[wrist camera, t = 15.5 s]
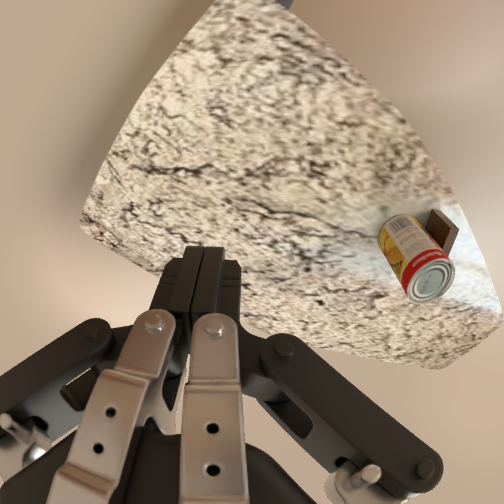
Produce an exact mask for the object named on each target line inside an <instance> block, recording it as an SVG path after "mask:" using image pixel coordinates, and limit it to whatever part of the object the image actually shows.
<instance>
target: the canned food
mask: <svg viewBox="0 0 504 504" xmlns="http://www.w3.org/2000/svg"><path fill="white" fill-rule="evenodd" d="M378 243H379V247H380V248H381V250H382V252H383V254H384V255H385V257H386V259H387V260H388V262H389V264H390V265H391V267H392V269H393V271H394V273H395V274H396V276H397V278H398V280H399V281H400V283H401V285H402V287H403V289H404V291H405V293H406V294H407V296H408V298H409V300H410V301H411V302H412V303H414V304H418V305H422V304H428V303H431V302H433V301H435V300H437V299H438V298H439V297H441V296H442V295H443V294H444V293H445V292H446V291H447V290H448V289H449V287H450V286H451V284H452V282H453V280H454V277H455V267H454V264H453V263H452V262H451V260H450V259H449V258H448V257H447V255H446V254H445V253H444V251H443V250H442V249H441V248H440V247H439V245H438V244H437V243H436V242H435V240H434V239H433V238H432V237H431V236H430V235H429V233H428V232H427V231H426V230H425V229H424V228H423V226H422V225H421V224H420V223H419V222H418V221H417V220H416V219H415V218H414V217H413V216H411V215H408V214H401V215H397V216H395V217H392V218H391V219H390V220H388V221H387V222H386V223H385V224H384V226H383V227H382V229H381V231H380V234H379V239H378Z"/></svg>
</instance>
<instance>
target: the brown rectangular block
mask: <svg viewBox="0 0 504 504" xmlns="http://www.w3.org/2000/svg"><path fill="white" fill-rule="evenodd" d="M425 230H426V231H427V232H428V233H429V235H430V236H431V237H432V238H433V239H434V240H435V242H436V243H437V244H438V245H439V247H440V248H441V249H442V250H443V251H444V253H445V254H446V255H447V257H448V255H449V253H450V251H451V248H452V246H453V244H454V241H455V239H456V236H457V234H458V231H459V229H458V228H457V227H456V225H455V224H454V223H453V222H452V221H451V220H450V219H449V218H448V217H447V216H446V215H444V214H443V213H442V212H441V211H439V210H433V209H432V211H431V214H430V217H429V220H428V223H427V226H426V229H425Z"/></svg>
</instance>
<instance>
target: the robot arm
mask: <svg viewBox="0 0 504 504" xmlns="http://www.w3.org/2000/svg"><path fill="white" fill-rule="evenodd" d="M240 300H241V267H240V265H239V264H238V262H237V260H225V249H224V247H207V246H206V248H205V246H186V249H185V252H184V255H183V257H182V258H173V259H172V260H170V261H169V262H168V263H167V264H166V265H165V268H164V270H163V273H162V276H161V278H160V281H159V284H158V286H157V289H156V291H155V294H154V297H153V300H152V302H151V305H150V308H149V310H148V311H146V312H144V313H142V314H141V315H139V316H138V317H137V319H136V321H135V322H134V324H133V325H130V326H125V327H118V328H111V327H110V325H109V323H108V322H107V321H105V320H103V319H100V318H92V319H88V320H86V321H84V322H82V323H81V324H79V325H78V326H76V327H75V328H73V329H71V330H70V331H68V332H67V333H65V334H64V335H62V336H60V337H59V338H57V339H56V340H54V341H53V342H51V343H50V344H48V345H46V346H45V347H44V348H42V349H40V350H39V351H37V352H36V353H34V354H33V355H31V356H30V357H28V358H27V359H25V360H24V361H22V362H21V363H19V364H18V365H16V366H15V367H13V368H12V369H10V370H9V371H7V372H6V373H4V374H3V375H1V376H0V475H1V477H2V479H3V481H4V484H3V485H2V487H1V488H0V504H317V503H316V502H315V501H314V500H313V499H312V498H311V497H310V496H309V495H308V494H307V493H306V492H305V491H304V490H303V489H302V488H301V487H300V486H299V485H298V484H297V483H296V482H295V481H294V480H293V479H292V478H291V477H290V476H289V475H288V474H287V472H286V471H285V470H284V469H283V468H282V467H281V466H280V465H279V464H278V463H277V462H276V461H275V460H274V459H273V458H272V457H270V456H269V455H268V454H267V453H265V452H264V451H262V450H261V449H258V448H257V447H255V446H252V445H250V444H247V443H245V437H244V436H245V434H244V419H243V403H242V394H245V395H248V396H251V397H254V398H256V399H257V401H258V403H259V404H260V405H261V406H262V407H263V408H264V409H265V410H266V411H267V412H268V413H269V414H270V416H271V417H272V418H273V419H274V420H275V421H276V422H277V423H278V424H279V425H280V426H281V427H282V428H283V429H284V430H285V431H286V432H287V433H288V434H289V435H290V436H291V437H292V438H293V439H294V440H295V441H296V442H297V443H298V444H299V445H300V446H301V447H302V448H303V449H304V450H305V451H306V452H307V453H309V454H310V455H311V456H312V457H313V458H314V459H315V460H316V461H317V462H318V463H319V464H320V465H321V466H322V467H323V468H325V469H326V470H327V471H328V472H329V473H330V475H329V476H328V478H327V479H326V482H325V493H326V495H327V497H328V498H329V499H330V501H331V502H332V503H333V504H405V503H406V502H407V500H409V499H410V498H411V497H414V496H417V495H420V494H423V493H426V492H428V491H430V490H432V489H433V488H434V487H435V486H436V485H437V484H438V483H439V481H440V480H441V477H442V474H443V462H442V459H441V457H440V456H439V454H437V452H435V451H434V450H433V449H432V448H430V447H429V446H428V445H427V444H425V443H424V442H423V441H421V440H420V439H419V438H418V437H416V436H415V435H414V434H413V433H411V432H410V431H409V430H408V429H406V428H405V427H404V426H403V425H401V424H400V423H399V422H397V421H396V420H395V419H394V418H392V417H391V416H390V415H389V414H388V413H386V412H385V411H384V410H383V409H382V408H380V407H379V406H378V405H377V404H375V403H374V402H373V401H372V400H371V399H369V398H368V397H367V396H366V395H365V394H363V393H362V392H361V391H360V390H358V389H357V388H356V387H355V386H354V385H353V384H351V383H350V382H349V381H348V380H347V379H346V378H344V377H343V376H342V375H341V374H340V373H338V372H337V371H336V370H335V369H334V368H333V367H332V366H330V365H329V364H328V363H327V362H326V361H325V360H323V359H322V358H321V357H320V356H319V355H318V354H316V353H315V352H314V351H313V350H312V349H311V348H310V347H308V346H307V345H306V344H305V343H304V342H303V341H302V340H300V339H299V338H298V337H296V336H294V335H291V334H285V333H279V334H274V335H272V336H270V337H268V338H267V339H264V338H261V337H257V336H255V335H252V334H250V333H248V332H247V331H246V330H245V329H244V328H243V327H242V326H241V324H240V321H239V319H240ZM188 354H190V366H189V378H188V382H187V383H186V384H185V387H184V395H183V411H182V427H181V434H175V428H176V424H175V415H176V411H177V407H178V403H179V399H180V395H181V391H182V387H183V383H184V379H185V375H186V362H187V357H188ZM89 368H91V369H90V370H88V371H87V372H85V371H86V370H87V369H89ZM83 372H85V373H84V374H83V375H81V376H80V377H78V378H77V379H75V380H74V381H73V382H71V383H69V384H68V385H66V384H67V383H68V382H70V381H71V380H73V379H74V378H76V377H77V376H79V375H80V374H82V373H83ZM78 424H79V426H78V429H77V430H75V431H73V432H72V433H71V434H69V435H68V436H67V437H66V438H64V439H63V440H61V441H60V442H59V443H57V444H56V445H55V446H53V447H52V446H51V443H52V442H53V441H55V440H56V439H58V438H59V437H61V436H62V435H64V434H65V433H67V432H68V431H69V430H70V429H72V428H74V427H75V426H77V425H78Z"/></svg>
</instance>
